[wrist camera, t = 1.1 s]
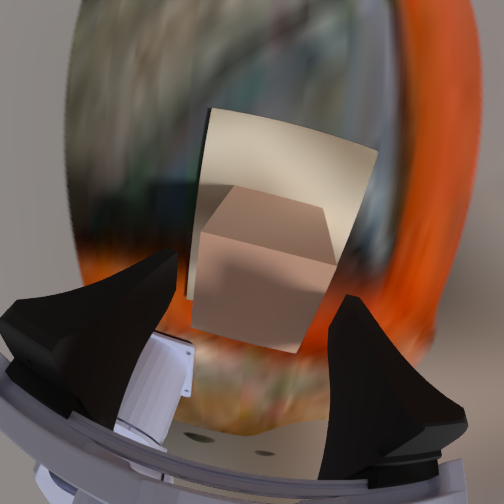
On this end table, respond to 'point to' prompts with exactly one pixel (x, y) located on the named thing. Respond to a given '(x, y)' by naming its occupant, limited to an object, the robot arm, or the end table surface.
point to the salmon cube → (262, 269)
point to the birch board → (280, 171)
